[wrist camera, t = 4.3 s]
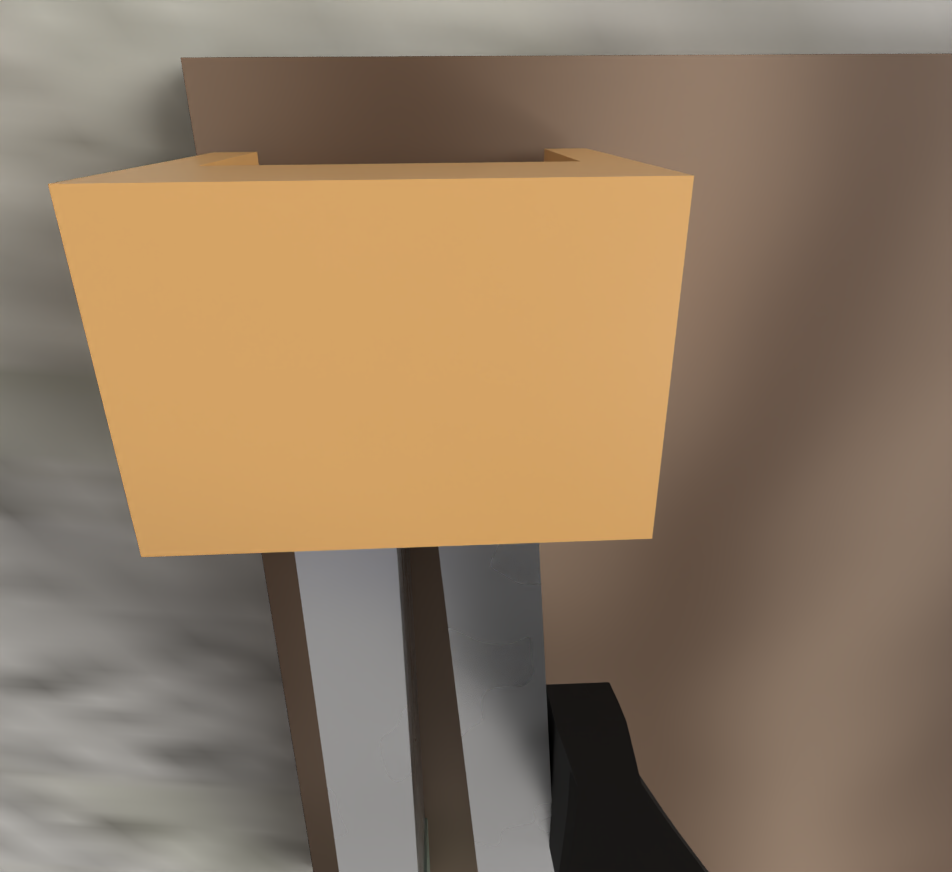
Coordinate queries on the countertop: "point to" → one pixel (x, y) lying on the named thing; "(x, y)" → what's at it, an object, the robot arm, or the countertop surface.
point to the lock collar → (381, 347)
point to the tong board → (678, 463)
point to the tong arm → (501, 700)
